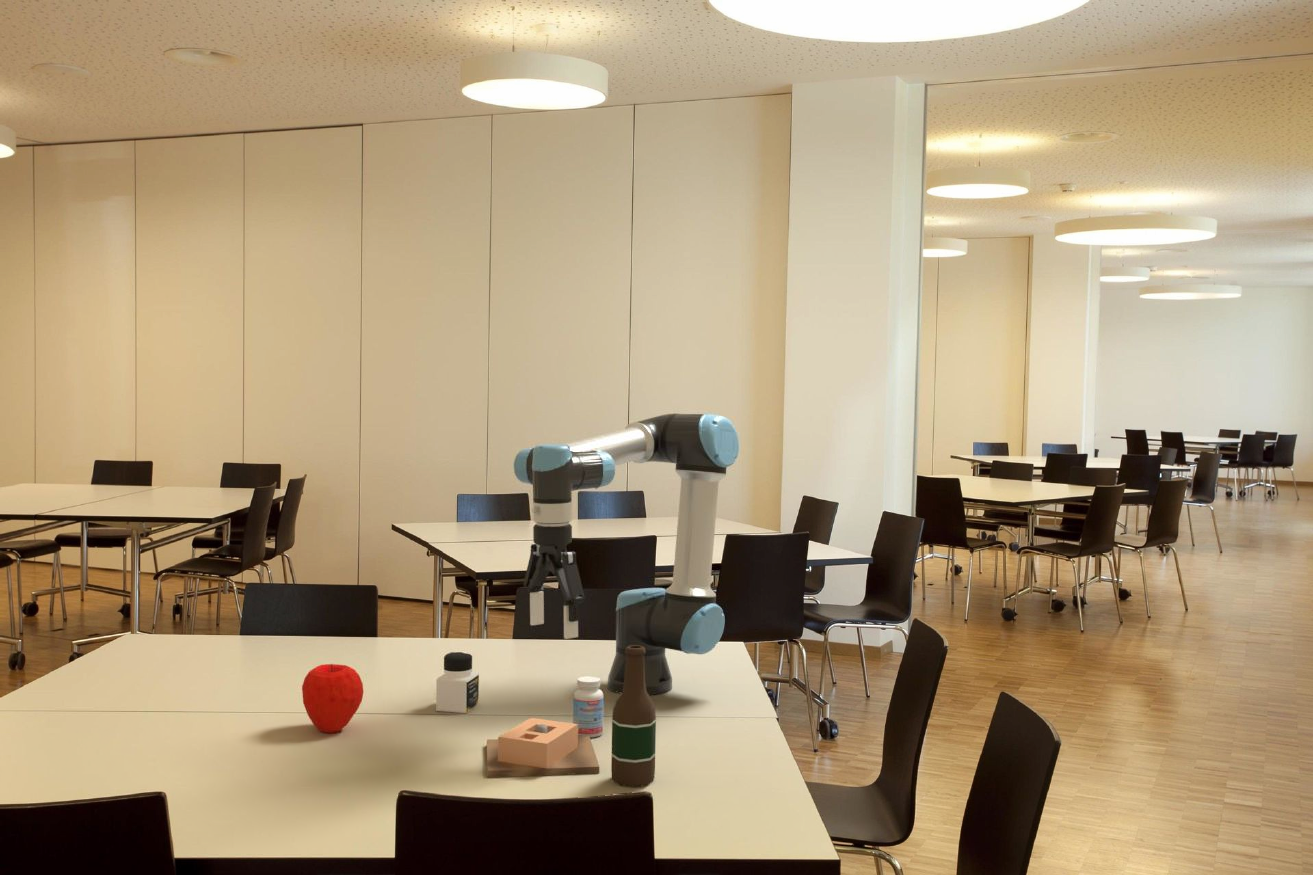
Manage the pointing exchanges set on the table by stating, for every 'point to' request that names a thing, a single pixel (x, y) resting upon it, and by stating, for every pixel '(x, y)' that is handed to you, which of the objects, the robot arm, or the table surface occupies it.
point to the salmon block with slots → (537, 743)
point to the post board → (572, 763)
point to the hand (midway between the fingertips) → (553, 630)
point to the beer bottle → (633, 726)
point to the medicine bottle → (457, 684)
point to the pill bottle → (588, 707)
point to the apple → (332, 696)
